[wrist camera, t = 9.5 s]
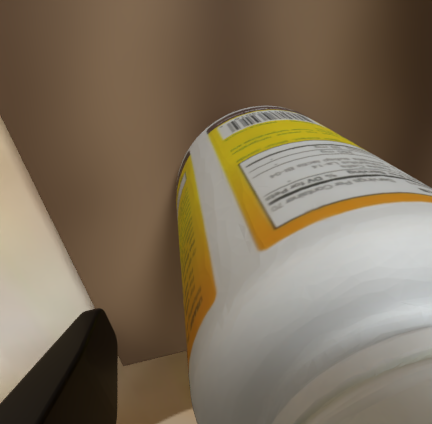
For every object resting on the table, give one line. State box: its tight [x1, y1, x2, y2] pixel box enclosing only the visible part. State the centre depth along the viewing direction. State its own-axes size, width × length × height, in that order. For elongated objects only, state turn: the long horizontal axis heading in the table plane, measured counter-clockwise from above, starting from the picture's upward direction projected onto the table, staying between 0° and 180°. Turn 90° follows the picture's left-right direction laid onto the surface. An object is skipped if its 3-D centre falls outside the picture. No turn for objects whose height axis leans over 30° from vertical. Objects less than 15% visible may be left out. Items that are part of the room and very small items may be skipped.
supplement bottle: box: [176, 106, 432, 424], centre depth 8 cm, size 6×6×10 cm
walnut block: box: [0, 0, 432, 366], centre depth 13 cm, size 14×14×2 cm
